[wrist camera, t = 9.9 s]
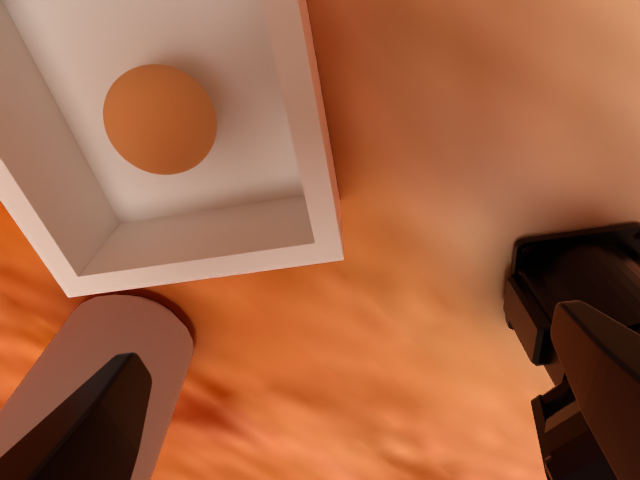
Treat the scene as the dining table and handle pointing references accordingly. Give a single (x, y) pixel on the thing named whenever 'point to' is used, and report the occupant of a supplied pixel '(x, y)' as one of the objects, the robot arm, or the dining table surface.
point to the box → (177, 189)
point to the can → (94, 352)
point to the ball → (159, 119)
